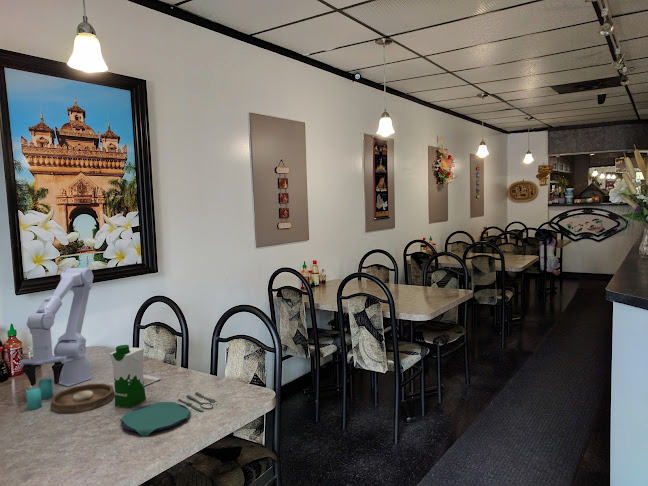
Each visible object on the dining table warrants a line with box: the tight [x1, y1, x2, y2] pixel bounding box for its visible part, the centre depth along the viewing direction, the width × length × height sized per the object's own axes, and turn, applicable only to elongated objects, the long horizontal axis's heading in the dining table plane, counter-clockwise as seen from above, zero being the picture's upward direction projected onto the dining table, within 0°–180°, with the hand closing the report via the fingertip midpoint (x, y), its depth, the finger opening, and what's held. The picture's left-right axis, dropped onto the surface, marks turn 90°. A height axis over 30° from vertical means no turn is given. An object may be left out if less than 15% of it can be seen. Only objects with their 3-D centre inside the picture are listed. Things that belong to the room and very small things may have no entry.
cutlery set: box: [119, 391, 218, 437], centre depth 150 cm, size 20×30×2 cm, turn 137°
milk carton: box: [109, 344, 147, 409], centre depth 160 cm, size 9×9×20 cm
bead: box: [25, 387, 43, 411], centre depth 159 cm, size 4×4×6 cm
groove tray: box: [50, 383, 115, 415], centre depth 163 cm, size 20×20×2 cm
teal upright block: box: [38, 377, 54, 400], centre depth 168 cm, size 4×4×6 cm
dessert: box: [143, 373, 162, 387], centre depth 180 cm, size 12×12×5 cm
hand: (45, 384), depth 168 cm, fingers open, 7 cm apart
